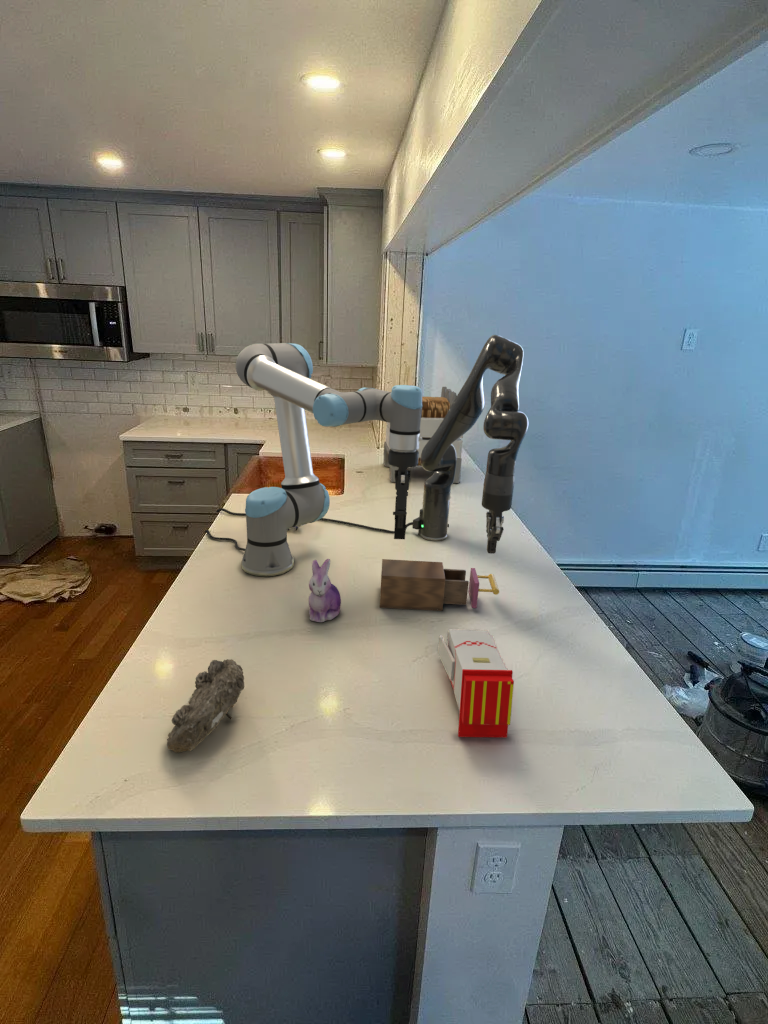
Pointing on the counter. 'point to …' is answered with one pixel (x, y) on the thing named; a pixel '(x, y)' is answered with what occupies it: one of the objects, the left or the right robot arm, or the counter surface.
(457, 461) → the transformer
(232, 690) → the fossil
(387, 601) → the cabinet
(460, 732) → the toy
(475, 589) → the drawer
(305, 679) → the counter surface
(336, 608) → the figurine
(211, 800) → the counter surface
